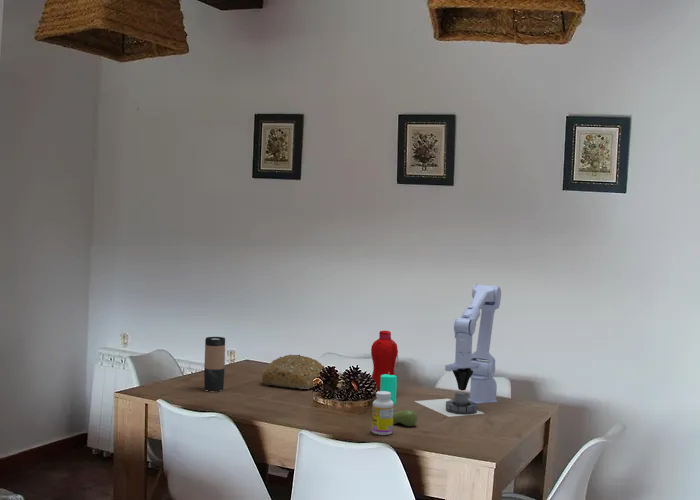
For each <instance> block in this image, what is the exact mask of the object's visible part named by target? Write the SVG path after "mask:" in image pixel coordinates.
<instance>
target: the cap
mask: <svg viewBox="0 0 700 500" xmlns="http://www.w3.org/2000/svg"><path fill="white" fill-rule="evenodd" d="M453 395H454V399H453V400H454V404H455V405H460V406H468V401H469V400H468V398H470V393H467V392H462V391H459V392H458V391H457V392H454V394H453Z"/></svg>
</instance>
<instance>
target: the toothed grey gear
mask: <svg viewBox="0 0 700 500" xmlns="http://www.w3.org/2000/svg"><path fill="white" fill-rule="evenodd" d="M477 410H478V403H475V402H472V401H469V400H468V406H460V405H455V404H454V399H451V400H449V401H447V402H446V411H447V412H450V413H454V414H462V415H464V416H470V415H469V414H475V413H477ZM475 415H476V414H475Z"/></svg>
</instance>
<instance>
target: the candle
mask: <svg viewBox="0 0 700 500" xmlns="http://www.w3.org/2000/svg"><path fill="white" fill-rule="evenodd" d="M397 381H398V376H396V374H395V375H387V374H384V375H381V381H380V391H387V392H390V393H391V398H390V400H391V401H392V402H393V403H394V405H397V393H396V390H397V387H398V386H397V385H398V384H397V383H398V382H397Z"/></svg>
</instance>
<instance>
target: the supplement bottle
mask: <svg viewBox="0 0 700 500" xmlns="http://www.w3.org/2000/svg"><path fill="white" fill-rule="evenodd" d="M375 397H376V399H375V400H374V401H373V402H372V411H371V413H372V415H371V419H372V420H371V433H372V434H374V435H377V434H378V436H390V435H391V434H392V433H393V429H394V424H393V412H394V407H395V406H394V403H393V402H392V401H391V400H390V398H391V393H390V392H387V391H378V392H376V396H375Z"/></svg>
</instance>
